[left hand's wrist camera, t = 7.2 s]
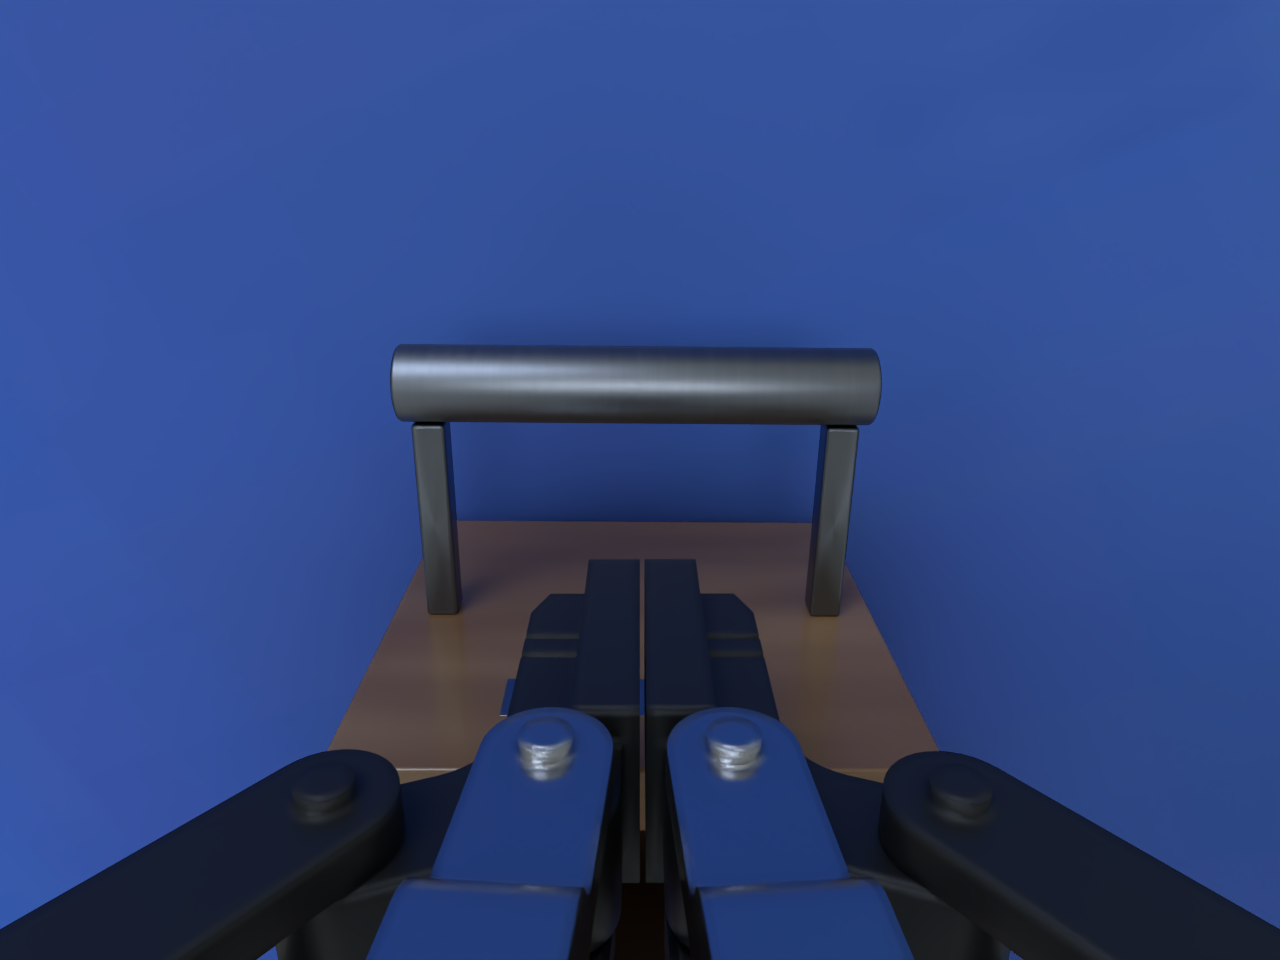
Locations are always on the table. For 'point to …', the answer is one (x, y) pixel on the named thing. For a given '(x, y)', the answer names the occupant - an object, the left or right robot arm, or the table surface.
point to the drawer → (560, 550)
